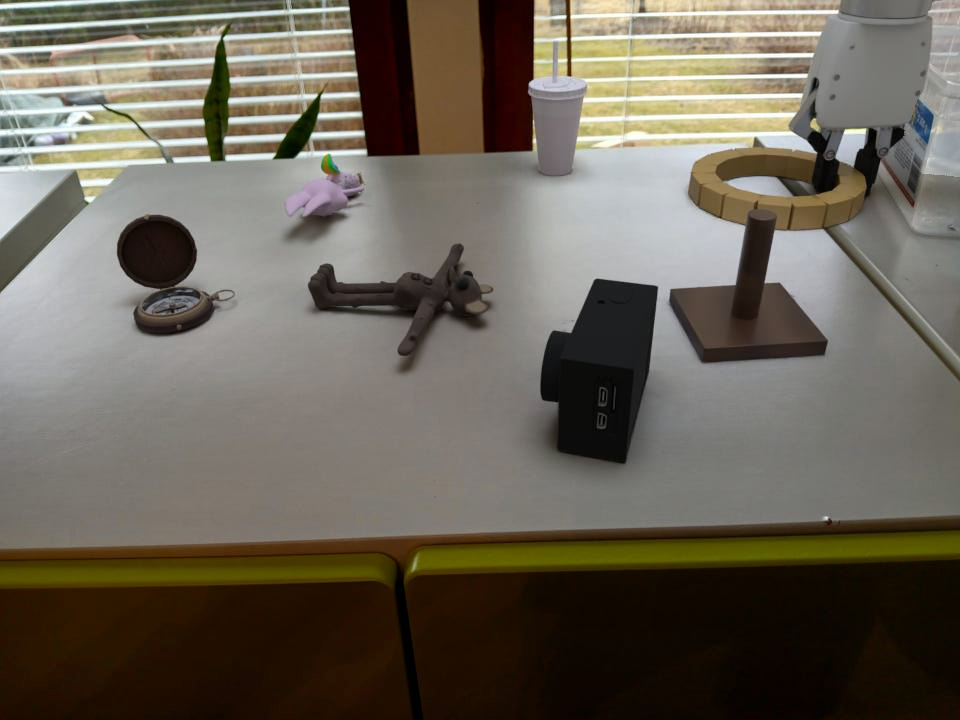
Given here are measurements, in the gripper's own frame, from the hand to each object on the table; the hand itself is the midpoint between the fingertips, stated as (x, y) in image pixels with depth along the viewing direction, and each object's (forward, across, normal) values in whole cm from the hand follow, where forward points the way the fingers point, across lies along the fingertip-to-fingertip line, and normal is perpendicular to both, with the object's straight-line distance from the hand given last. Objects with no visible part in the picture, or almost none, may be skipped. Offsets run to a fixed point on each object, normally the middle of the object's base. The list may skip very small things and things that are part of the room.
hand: (840, 190), depth 82 cm
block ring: (0, +7, 0) cm, 7 cm away
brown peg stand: (0, +19, +25) cm, 32 cm away
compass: (0, +63, +17) cm, 65 cm away
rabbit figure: (0, +53, -2) cm, 53 cm away
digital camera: (0, +32, +34) cm, 47 cm away
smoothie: (0, +28, -11) cm, 30 cm away
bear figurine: (0, +45, +19) cm, 49 cm away
